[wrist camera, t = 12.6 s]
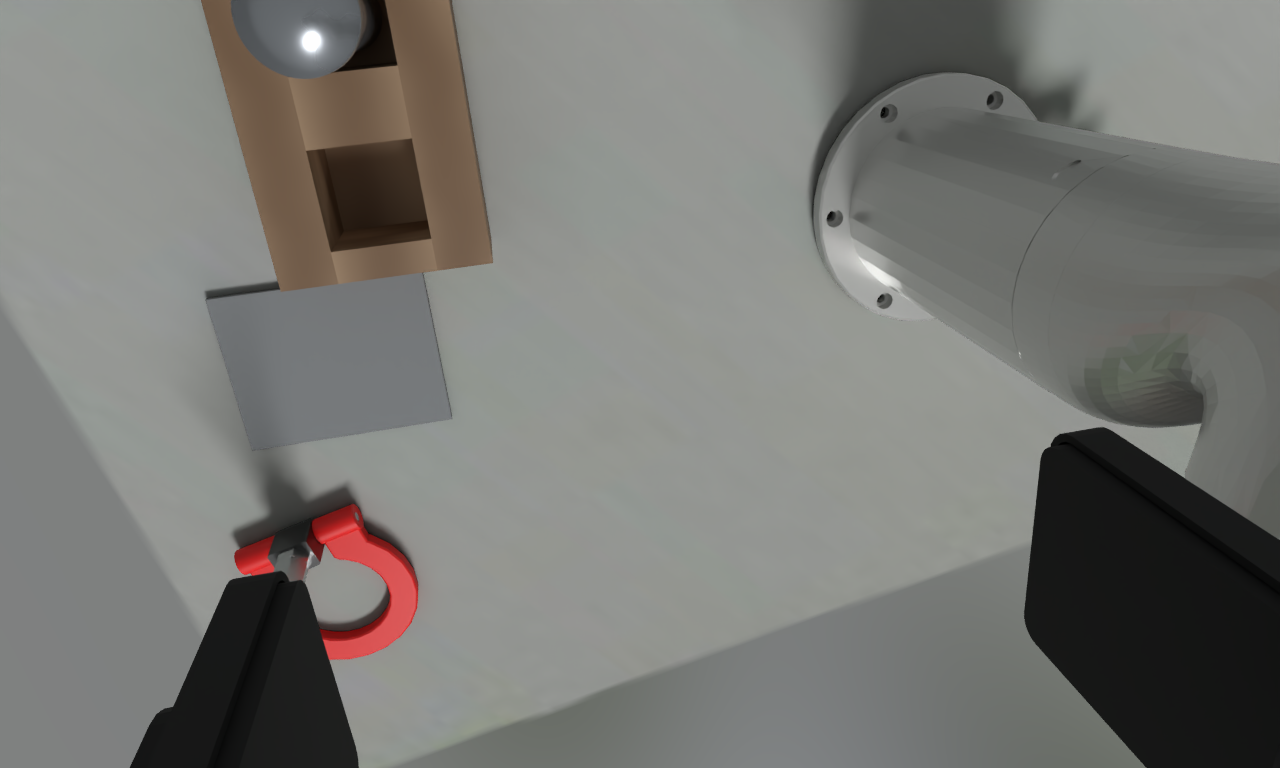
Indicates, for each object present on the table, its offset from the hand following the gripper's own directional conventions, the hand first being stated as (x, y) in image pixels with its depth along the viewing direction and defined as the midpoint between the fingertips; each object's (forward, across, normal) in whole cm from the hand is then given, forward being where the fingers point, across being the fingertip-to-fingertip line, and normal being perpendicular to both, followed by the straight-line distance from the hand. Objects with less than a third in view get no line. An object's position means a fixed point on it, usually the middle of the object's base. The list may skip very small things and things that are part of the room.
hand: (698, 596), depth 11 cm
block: (+33, +7, -4) cm, 34 cm away
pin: (+33, +7, -8) cm, 34 cm away
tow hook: (+34, +14, +21) cm, 42 cm away
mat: (+33, +11, +8) cm, 36 cm away
